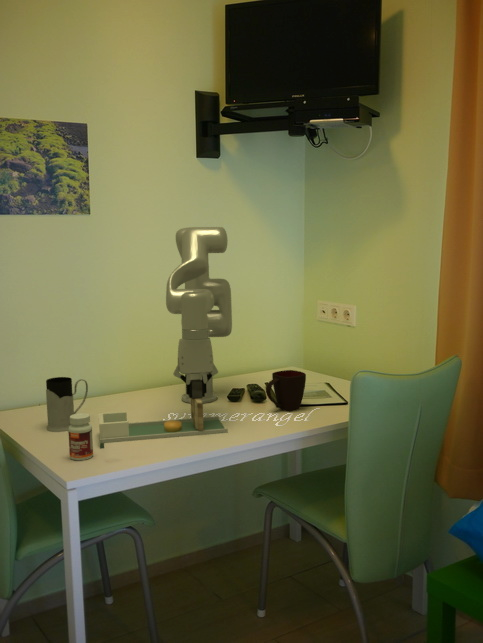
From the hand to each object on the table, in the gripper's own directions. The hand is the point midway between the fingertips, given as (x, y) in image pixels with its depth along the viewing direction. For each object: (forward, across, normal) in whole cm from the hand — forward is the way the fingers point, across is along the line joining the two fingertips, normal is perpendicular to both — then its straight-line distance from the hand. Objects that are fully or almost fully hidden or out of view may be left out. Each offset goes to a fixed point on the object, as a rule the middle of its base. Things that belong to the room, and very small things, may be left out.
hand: (196, 395), depth 194 cm
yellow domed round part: (+10, +7, 0) cm, 12 cm away
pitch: (+11, +10, 0) cm, 15 cm away
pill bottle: (+11, +33, +12) cm, 37 cm away
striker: (+9, 0, 0) cm, 9 cm away
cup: (+11, -32, -16) cm, 38 cm away
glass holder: (+11, +37, -18) cm, 43 cm away
